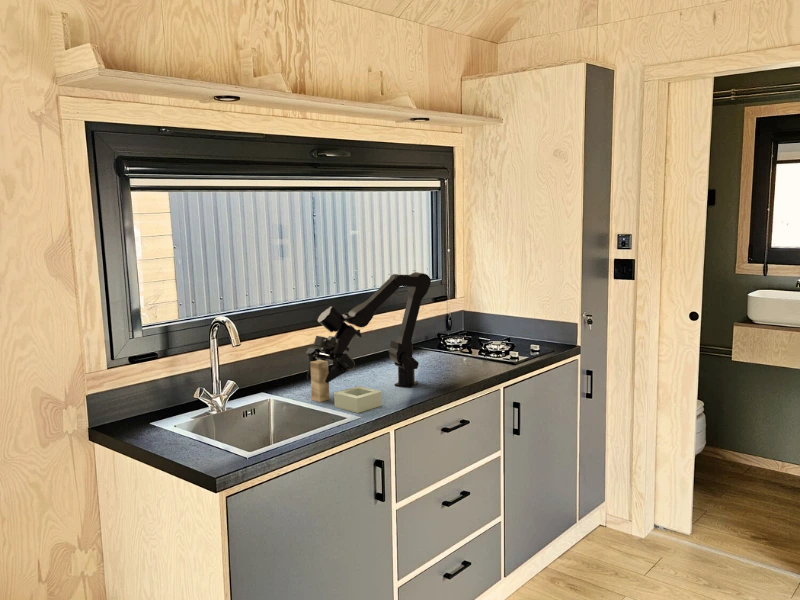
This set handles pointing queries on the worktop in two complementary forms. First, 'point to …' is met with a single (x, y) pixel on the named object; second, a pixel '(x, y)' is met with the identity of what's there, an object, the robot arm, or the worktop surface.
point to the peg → (319, 380)
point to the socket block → (358, 399)
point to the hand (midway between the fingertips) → (316, 379)
